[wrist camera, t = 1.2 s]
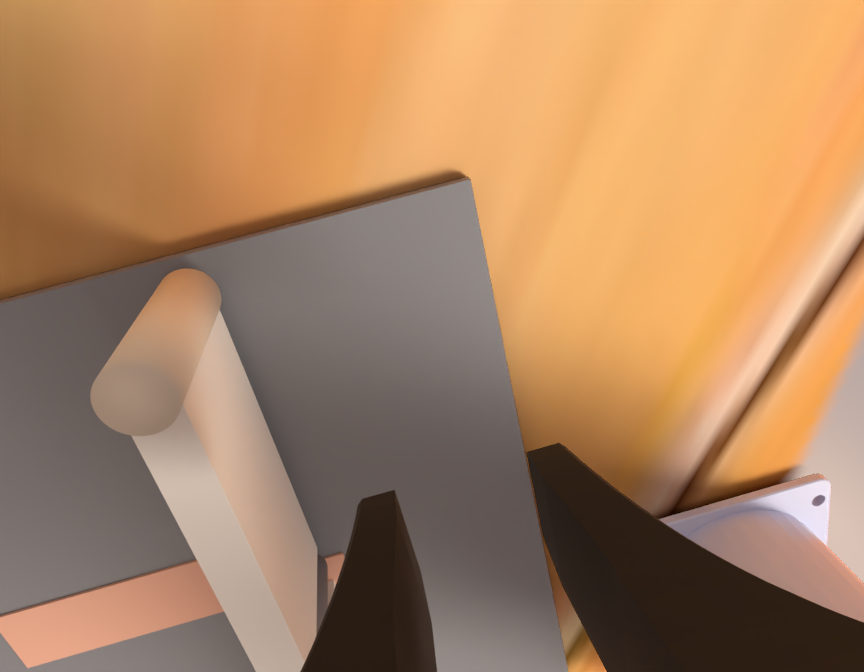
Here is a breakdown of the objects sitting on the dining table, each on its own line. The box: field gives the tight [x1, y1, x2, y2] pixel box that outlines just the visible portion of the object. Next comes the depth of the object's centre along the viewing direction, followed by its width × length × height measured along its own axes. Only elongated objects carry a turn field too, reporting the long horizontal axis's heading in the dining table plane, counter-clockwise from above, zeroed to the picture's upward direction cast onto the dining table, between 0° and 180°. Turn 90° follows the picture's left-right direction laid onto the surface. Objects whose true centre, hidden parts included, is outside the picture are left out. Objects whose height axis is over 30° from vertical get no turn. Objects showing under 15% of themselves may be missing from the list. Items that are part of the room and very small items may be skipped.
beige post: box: [90, 268, 328, 672], centre depth 17 cm, size 12×2×5 cm, turn 13°
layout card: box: [0, 177, 568, 672], centre depth 22 cm, size 22×20×1 cm
